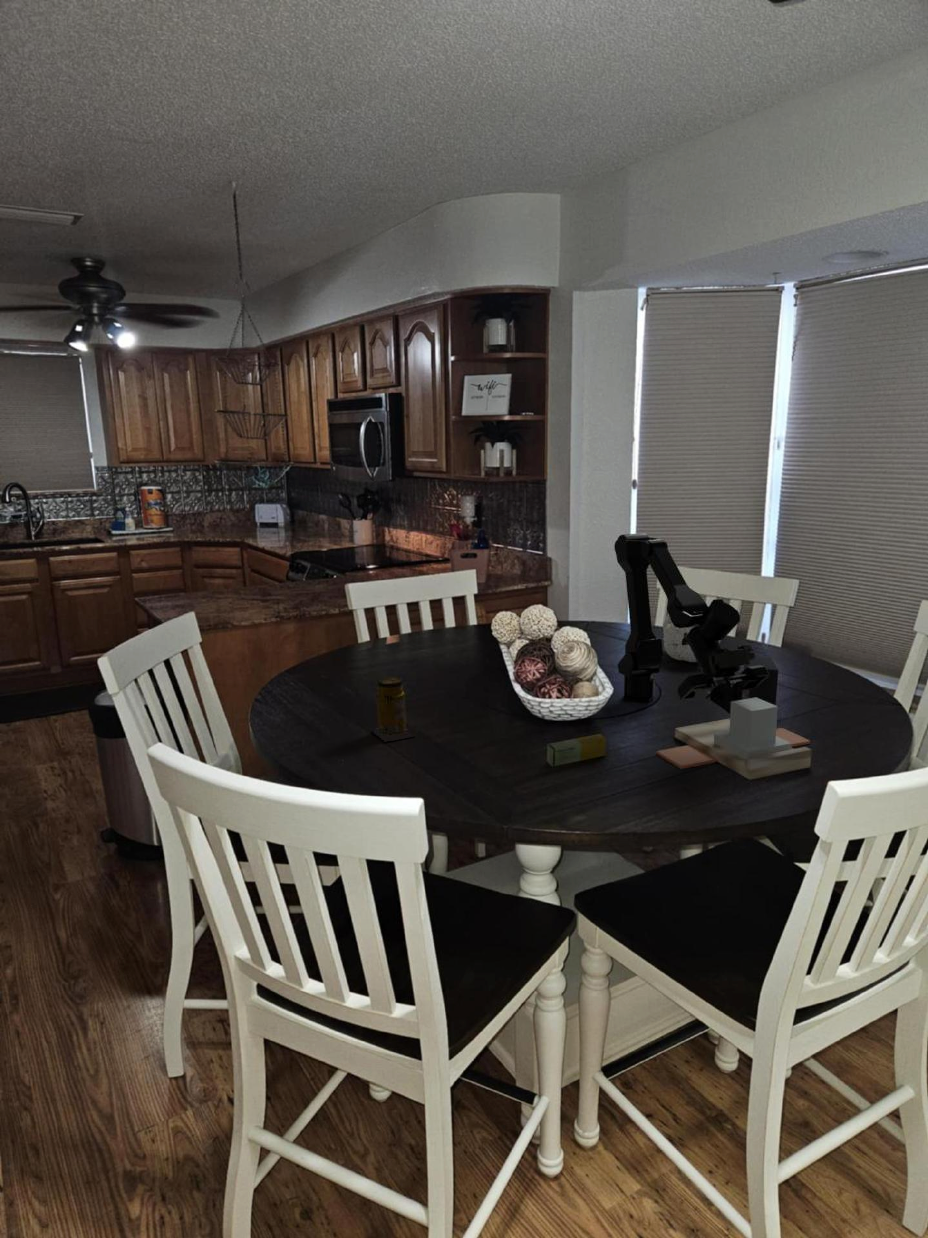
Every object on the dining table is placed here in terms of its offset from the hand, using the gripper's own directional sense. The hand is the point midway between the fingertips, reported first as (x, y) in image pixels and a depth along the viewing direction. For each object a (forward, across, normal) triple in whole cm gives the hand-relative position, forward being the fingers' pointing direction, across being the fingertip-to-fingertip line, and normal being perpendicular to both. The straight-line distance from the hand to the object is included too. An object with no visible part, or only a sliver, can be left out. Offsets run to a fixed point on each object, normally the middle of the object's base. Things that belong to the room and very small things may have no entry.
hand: (741, 720), depth 156 cm
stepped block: (+6, 0, +1) cm, 6 cm away
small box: (-10, +22, +19) cm, 31 cm away
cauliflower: (-38, +33, +47) cm, 69 cm away
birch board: (+5, 0, +5) cm, 7 cm away
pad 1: (+4, -12, +6) cm, 13 cm away
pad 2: (+4, +12, +6) cm, 13 cm away
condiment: (-22, -61, +32) cm, 72 cm away
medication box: (-2, -31, +12) cm, 33 cm away
